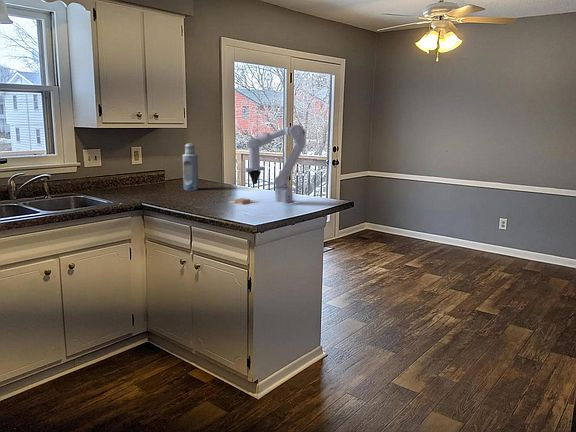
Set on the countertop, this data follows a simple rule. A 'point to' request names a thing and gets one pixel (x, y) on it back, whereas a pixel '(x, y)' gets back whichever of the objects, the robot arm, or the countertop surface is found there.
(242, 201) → the tile
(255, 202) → the board
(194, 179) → the bottle
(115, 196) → the countertop surface
